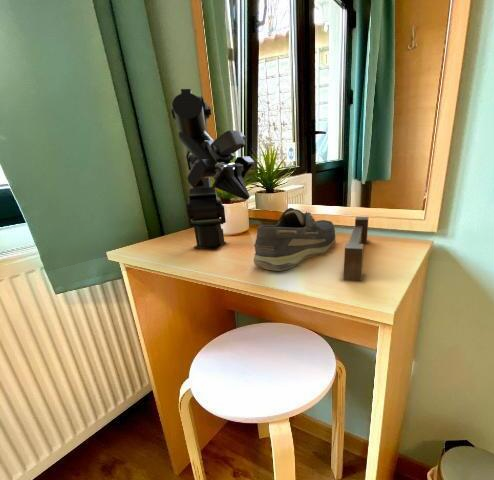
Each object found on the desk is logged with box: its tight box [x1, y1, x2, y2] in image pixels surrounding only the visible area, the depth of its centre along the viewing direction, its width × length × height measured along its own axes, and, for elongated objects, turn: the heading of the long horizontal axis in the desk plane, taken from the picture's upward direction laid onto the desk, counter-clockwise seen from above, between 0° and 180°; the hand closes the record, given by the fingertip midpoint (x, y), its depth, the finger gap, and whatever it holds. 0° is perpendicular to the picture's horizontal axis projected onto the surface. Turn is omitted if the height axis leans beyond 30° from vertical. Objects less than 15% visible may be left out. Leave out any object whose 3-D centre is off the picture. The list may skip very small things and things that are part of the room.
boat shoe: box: [253, 207, 337, 272], centre depth 71 cm, size 11×29×11 cm, turn 148°
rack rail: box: [343, 216, 369, 282], centre depth 68 cm, size 3×28×6 cm, turn 164°
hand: (247, 198), depth 68 cm, fingers closed
